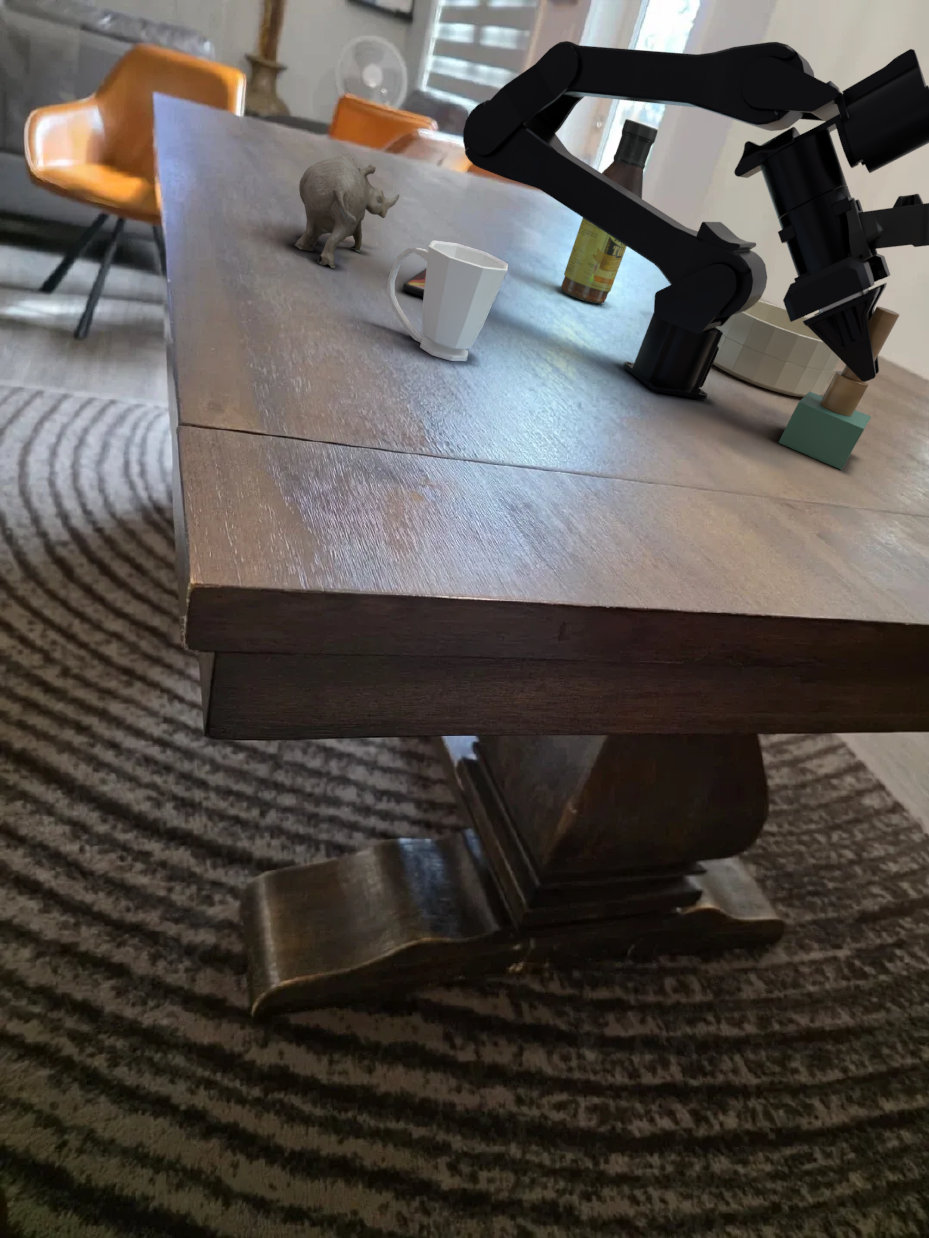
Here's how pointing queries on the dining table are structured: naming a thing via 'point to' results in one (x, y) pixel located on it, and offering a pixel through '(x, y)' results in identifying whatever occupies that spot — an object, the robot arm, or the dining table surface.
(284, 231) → the dining table surface
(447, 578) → the dining table surface
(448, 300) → the cup
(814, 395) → the stand
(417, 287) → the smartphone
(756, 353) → the bowl
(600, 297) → the sauce bottle
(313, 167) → the rhinoceros figurine
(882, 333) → the wooden peg
